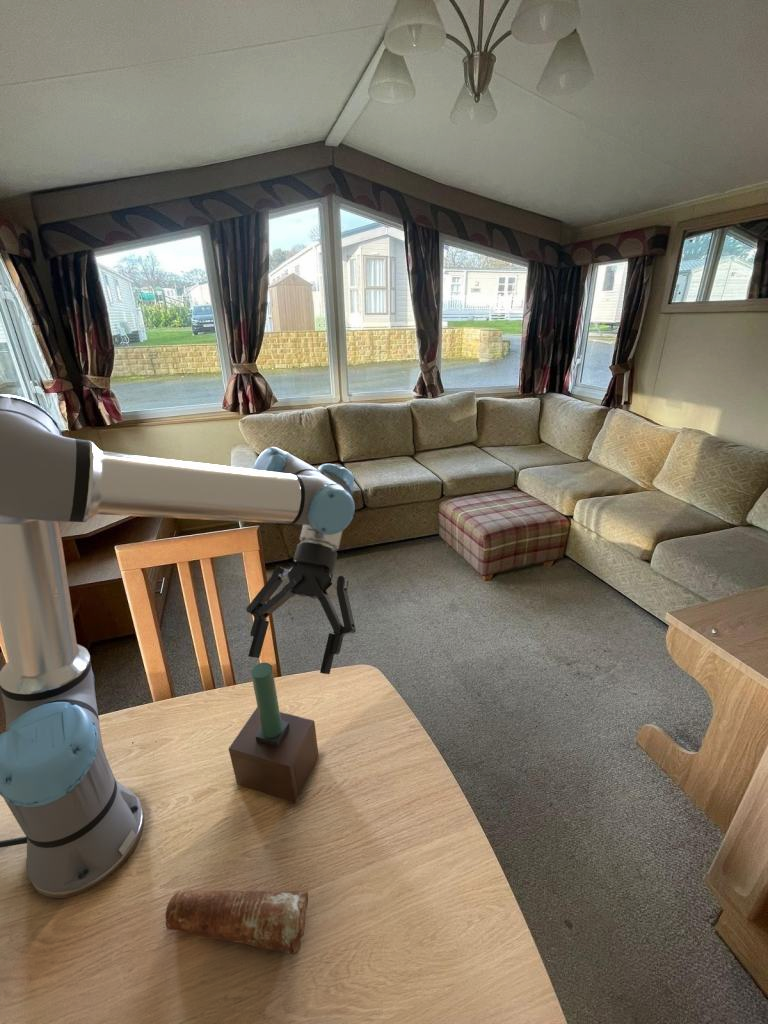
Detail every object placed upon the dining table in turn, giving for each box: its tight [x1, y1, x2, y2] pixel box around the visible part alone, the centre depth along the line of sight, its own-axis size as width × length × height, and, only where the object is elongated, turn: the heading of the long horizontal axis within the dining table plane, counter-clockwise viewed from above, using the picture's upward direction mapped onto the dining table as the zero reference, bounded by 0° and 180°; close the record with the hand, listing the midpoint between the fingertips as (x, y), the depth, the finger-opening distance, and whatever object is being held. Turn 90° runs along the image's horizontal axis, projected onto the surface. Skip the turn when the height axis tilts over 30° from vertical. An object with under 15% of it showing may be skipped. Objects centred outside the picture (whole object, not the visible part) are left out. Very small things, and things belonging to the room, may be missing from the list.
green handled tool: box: [250, 662, 289, 747], centre depth 77 cm, size 4×4×14 cm
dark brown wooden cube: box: [228, 706, 320, 804], centre depth 82 cm, size 11×9×9 cm
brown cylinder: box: [165, 889, 309, 955], centre depth 63 cm, size 6×19×6 cm, turn 81°
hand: (288, 665), depth 83 cm, fingers open, 13 cm apart
